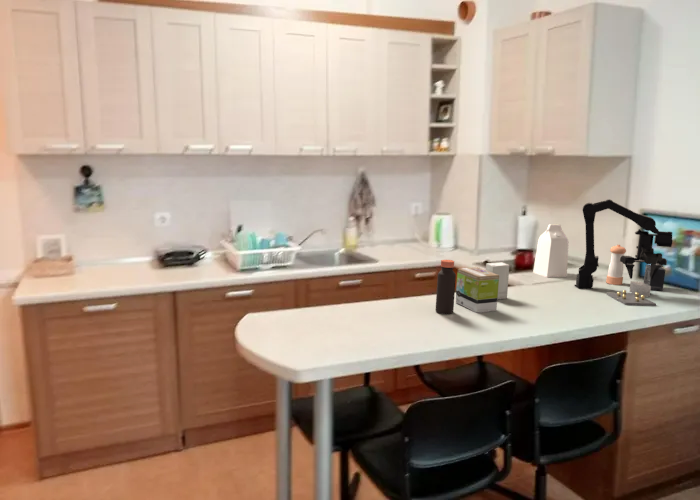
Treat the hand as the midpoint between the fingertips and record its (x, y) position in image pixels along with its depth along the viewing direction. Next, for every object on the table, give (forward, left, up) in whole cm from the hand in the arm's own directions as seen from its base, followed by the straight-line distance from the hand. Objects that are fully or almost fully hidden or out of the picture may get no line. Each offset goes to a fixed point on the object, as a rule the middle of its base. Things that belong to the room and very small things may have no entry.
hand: (640, 279), depth 269 cm
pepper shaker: (-2, +21, -7) cm, 22 cm away
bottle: (-96, -41, -7) cm, 105 cm away
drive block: (0, 0, -7) cm, 7 cm away
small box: (+13, +13, -7) cm, 20 cm away
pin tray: (-10, -12, -7) cm, 17 cm away
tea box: (-82, -32, -7) cm, 88 cm away
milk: (-28, +37, -7) cm, 47 cm away
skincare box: (-70, -16, -7) cm, 72 cm away
